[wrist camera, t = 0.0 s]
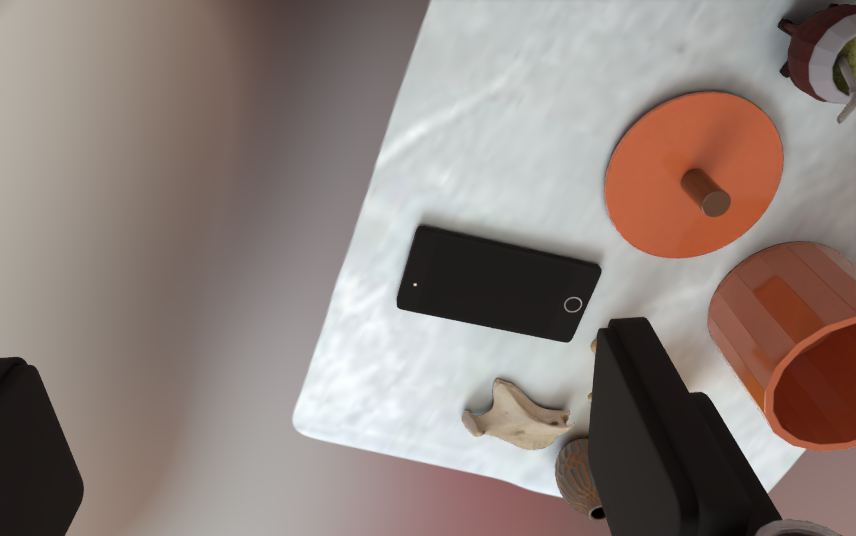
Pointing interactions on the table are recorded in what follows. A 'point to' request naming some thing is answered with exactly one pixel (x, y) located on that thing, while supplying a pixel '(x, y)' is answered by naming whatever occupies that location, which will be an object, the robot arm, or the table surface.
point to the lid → (693, 174)
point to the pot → (793, 340)
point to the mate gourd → (824, 56)
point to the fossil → (517, 419)
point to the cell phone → (496, 284)
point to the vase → (578, 480)
